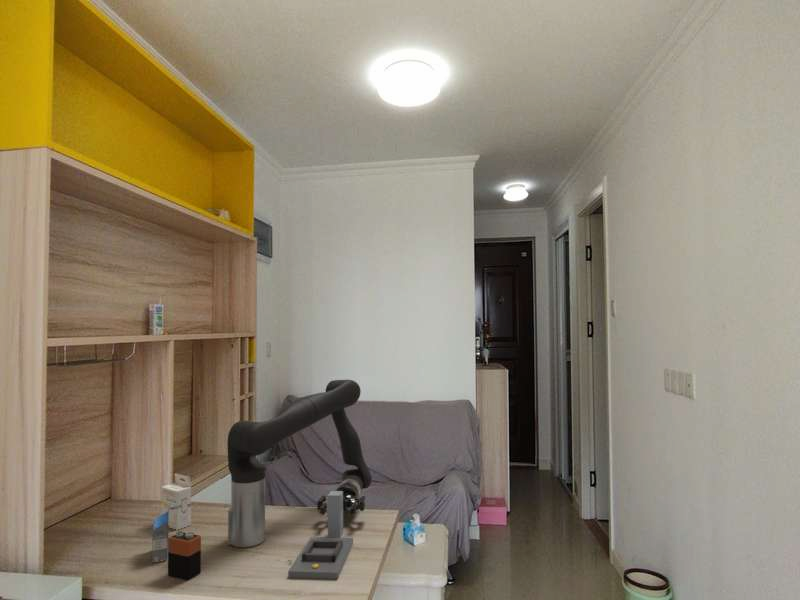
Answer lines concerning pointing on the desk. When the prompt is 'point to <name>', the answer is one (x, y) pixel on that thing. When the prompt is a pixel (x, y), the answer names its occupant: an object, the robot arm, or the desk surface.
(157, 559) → the label tape cartridge
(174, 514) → the ink cartridge box
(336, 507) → the plug
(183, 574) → the battery
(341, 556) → the power dock
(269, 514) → the desk surface
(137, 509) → the desk surface
